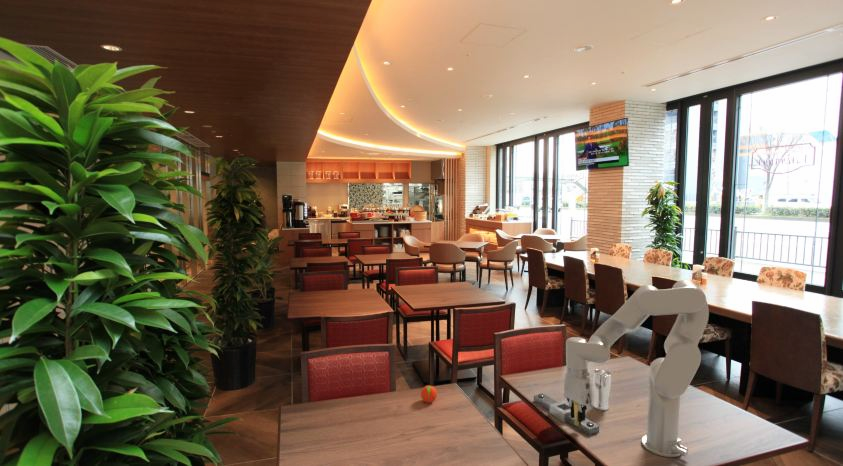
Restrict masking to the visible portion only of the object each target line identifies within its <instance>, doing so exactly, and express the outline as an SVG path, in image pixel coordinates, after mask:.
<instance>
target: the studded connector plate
mask: <svg viewBox="0 0 843 466" xmlns="http://www.w3.org/2000/svg"><path fill="white" fill-rule="evenodd" d="M533 402H535V403H536V404H538V405H539V406H541V407H542V408H544V409H546V410H547V411H549V414H550V415H552V416H553V417H555V418H556V419H557V420H559V421H561V422H563V423H566V422H567V423H568V424H570V425H572V426H573V425H574V418H571V407H570V406H569V402H568V401H567V400H562V401H557V400H555V399H553V398H552V397H550V396H549V395H547V394H545V393H539V394H536V395H533ZM574 427H576V428H577V429H578V430H580V431H582V433H585V434H586V433H587V434H586V435H589V436H591V435H595V434H597V433H600V425H598V424H597V423H595V422H593V421H592V420H590V419H588V418H586V417H585V420H584V421H582V426H576V425H574Z"/></svg>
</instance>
